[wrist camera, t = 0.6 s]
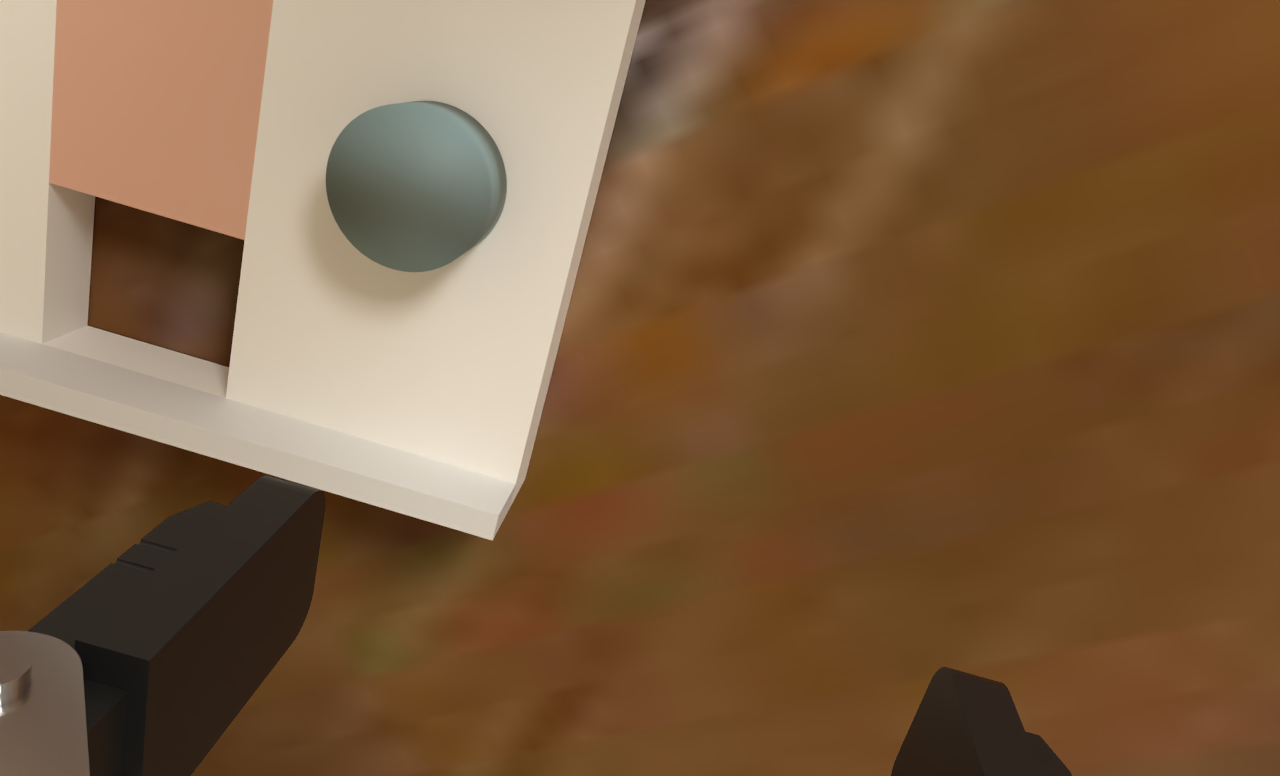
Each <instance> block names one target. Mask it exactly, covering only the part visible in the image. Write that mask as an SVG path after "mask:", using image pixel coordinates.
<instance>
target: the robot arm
mask: <svg viewBox="0 0 1280 776" xmlns="http://www.w3.org/2000/svg"><path fill="white" fill-rule="evenodd" d="M324 512H325V496H324V493H323V492H322V491H320V490H316V489H313V488H309V487H305V486H302V485H298V484H295V483H291V482H288V481H284V480H280V479H277V478H273V477H270V476H262V477H260V478H259V479H257V480H256V481H255V482H254V483H253V484H252V485H250V486H249V487H248V488H247V489H246V490H245V491H244V492H242V493H241V494H240V495H239V496H238V497H237V498H236V499H234V500H233V501H232V502H231V503H230V504H229V505H228V506H225V505H221V504H218V503H214V502H211V501H209V502H206V503H204V504H201V505H198V506H196V507H193V508H190V509H188V510H185V511H182V512H180V513H177V514H174V515H172V516H169V517H168V518H167V519H166V520H164V521H163V522H162V523H161V524H159V525H158V526H157V527H156V528H154V529H153V530H152V531H151V532H149V533H148V534H147V535H146V536H145V537H143V538H142V539H141V542H140V544H139V545H138V544H135V545H133V546H132V547H131V548H130V549H128V550H127V551H126V552H125V553H123V554H122V555H121V556H120V557H119V558H117V562H116V563H115V564H112V563H111V564H110V565H109V566H107V567H106V568H105V569H104V570H102V571H101V572H100V573H99V574H98V575H96V576H95V577H94V578H93V579H91V580H90V581H89V582H88V583H86V584H85V585H84V586H83V587H81V588H80V589H79V590H78V591H77V592H75V593H74V594H73V595H72V596H70V597H69V598H68V599H67V600H65V601H64V602H63V603H62V604H60V605H59V606H58V607H57V608H56V609H54V610H53V611H52V612H51V613H49V614H48V615H47V616H46V617H44V618H43V619H42V620H41V621H39V622H38V623H37V624H36V625H34V626H33V627H32V628H31V629H30V630H28V631H2V632H0V776H190V775H191V774H192V773H193V771H194V770H195V769H196V768H197V766H198V765H199V764H200V762H201V761H202V760H203V758H204V757H205V756H206V755H207V753H208V752H209V751H210V749H211V748H212V747H213V745H214V744H215V743H216V742H217V740H218V739H219V738H220V736H221V735H222V734H223V732H224V731H225V730H226V729H227V727H228V726H229V725H230V723H231V722H232V721H233V719H234V718H235V717H236V716H237V714H238V713H239V712H240V710H241V709H242V708H243V706H244V705H245V704H246V703H247V701H248V700H249V699H250V697H251V696H252V695H253V693H254V692H255V691H256V690H257V688H258V687H259V686H260V684H261V683H262V682H263V680H264V679H265V678H266V677H267V675H268V674H269V673H270V671H271V670H272V669H273V667H274V666H275V665H276V664H277V662H278V661H279V660H280V658H281V657H282V656H283V654H284V653H285V652H286V651H287V649H288V648H289V647H290V645H291V644H292V643H293V641H294V640H295V638H296V637H297V635H298V633H299V631H300V629H301V627H302V625H303V623H304V621H305V618H306V616H307V613H308V610H309V607H310V604H311V600H312V596H313V590H314V583H315V576H316V569H317V562H318V555H319V547H320V540H321V533H322V526H323V519H324ZM891 776H1072V775H1071V773H1070V771H1069V770H1068V768H1067V767H1066V766H1065V765H1064V764H1063V763H1062V761H1061V760H1060V759H1059V758H1058V757H1057V755H1056V754H1055V753H1054V752H1053V751H1052V750H1051V748H1050V747H1049V746H1048V745H1047V744H1046V742H1045V741H1044V740H1043V739H1042V738H1041V737H1040V736H1039V735H1035V734H1032V733H1028V732H1025V730H1024V728H1023V725H1022V723H1021V720H1020V718H1019V715H1018V712H1017V710H1016V707H1015V705H1014V702H1013V700H1012V697H1011V695H1010V692H1009V690H1008V688H1007V687H1006V686H1005V684H1003V683H1001V682H997V681H994V680H990V679H986V678H983V677H979V676H976V675H972V674H969V673H965V672H961V671H958V670H954V669H951V668H947V667H942V668H940V669H939V670H938V671H937V672H936V673H935V675H934V676H933V678H932V680H931V682H930V684H929V686H928V688H927V691H926V693H925V695H924V697H923V700H922V702H921V704H920V706H919V709H918V711H917V713H916V715H915V717H914V720H913V722H912V724H911V726H910V729H909V731H908V733H907V735H906V738H905V740H904V742H903V744H902V746H901V749H900V751H899V753H898V755H897V758H896V760H895V763H894V766H893V770H892V774H891Z"/></svg>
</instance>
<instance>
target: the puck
mask: <svg viewBox="0 0 1280 776" xmlns="http://www.w3.org/2000/svg"><path fill="white" fill-rule="evenodd" d="M326 192H327V198H328V202H329V206H330V209H331V212H332V214H333V217H334V219H335V221H336V223H337V225H338V226H339V228H340V230H341V231H342V233H343V234H344V235H345V237H346V238H347V240H348V241H349V242H350V243H351V244H352V245H353V246H354V247H355V248H356V249H357V250H358V251H360V252H361V253H362V254H363V255H365V256H366V257H368V258H369V259H371V260H372V261H374V262H376V263H378V264H380V265H382V266H385V267H388V268H390V269H394V270H398V271H404V272H424V271H430V270H434V269H437V268H440V267H443V266H445V265H447V264H449V263H451V262H452V261H454V260H455V259H457V258H458V257H460V256H461V255H463V254H464V253H466V252H467V251H468V250H470V249H471V248H473V247H474V246H476V245H477V244H479V243H480V242H481V241H482V240H484V239H485V238H486V237H487V236H488V235H489V234H490V232H491V231H492V230H493V229H494V227H495V225H496V224H497V222H498V221H499V218H500V216H501V214H502V211H503V208H504V204H505V200H506V193H507V178H506V170H505V166H504V162H503V159H502V156H501V154H500V151H499V149H498V147H497V145H496V143H495V141H494V140H493V138H492V137H491V135H490V134H489V133H488V132H487V130H486V129H485V128H484V127H483V126H482V125H481V124H480V123H479V122H478V121H477V120H476V119H475V118H473V117H472V116H470V115H469V114H468V113H466V112H465V111H463V110H461V109H459V108H457V107H454V106H452V105H449V104H446V103H442V102H437V101H414V102H405V103H397V104H389V105H384V106H379V107H376V108H373V109H370V110H368V111H366V112H364V113H362V114H360V115H359V116H357V117H356V118H355V119H353V120H352V121H351V122H350V123H349V124H348V125H347V126H346V127H345V128H344V129H343V130H342V132H341V133H340V134H339V136H338V137H337V139H336V141H335V143H334V145H333V146H332V149H331V152H330V155H329V158H328V162H327V167H326Z"/></svg>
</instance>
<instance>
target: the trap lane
mask: <svg viewBox="0 0 1280 776" xmlns="http://www.w3.org/2000/svg"><path fill="white" fill-rule="evenodd" d="M645 1H646V0H0V395H3V396H6V397H10V398H13V399H16V400H20V401H23V402H26V403H30V404H33V405H37V406H40V407H43V408H47V409H50V410H54V411H57V412H60V413H64V414H67V415H70V416H74V417H77V418H81V419H84V420H87V421H91V422H94V423H97V424H101V425H104V426H108V427H111V428H114V429H118V430H121V431H124V432H128V433H131V434H135V435H138V436H141V437H145V438H148V439H151V440H155V441H158V442H162V443H165V444H168V445H172V446H175V447H178V448H182V449H185V450H189V451H192V452H195V453H199V454H202V455H205V456H209V457H212V458H216V459H219V460H222V461H226V462H229V463H233V464H236V465H239V466H243V467H246V468H249V469H253V470H256V471H260V472H263V473H266V474H270V475H273V476H276V477H280V478H283V479H287V480H290V481H293V482H297V483H300V484H303V485H307V486H310V487H314V488H317V489H320V490H324V491H327V492H330V493H334V494H337V495H341V496H344V497H347V498H351V499H354V500H357V501H361V502H364V503H368V504H371V505H374V506H378V507H381V508H384V509H388V510H391V511H395V512H398V513H401V514H405V515H408V516H411V517H415V518H418V519H422V520H425V521H428V522H432V523H435V524H439V525H442V526H445V527H449V528H452V529H455V530H459V531H462V532H466V533H469V534H472V535H476V536H479V537H482V538H486V539H489V540H493V539H494V537H495V535H496V533H497V531H498V529H499V527H500V526H501V524H502V522H503V520H504V518H505V516H506V514H507V512H508V510H509V508H510V507H511V505H512V503H513V501H514V499H515V497H516V495H517V493H518V491H519V490H520V488H521V486H522V484H523V482H524V480H525V478H526V474H527V470H528V466H529V462H530V458H531V454H532V450H533V446H534V442H535V438H536V434H537V430H538V426H539V422H540V418H541V414H542V410H543V406H544V402H545V398H546V394H547V390H548V386H549V382H550V378H551V374H552V370H553V366H554V362H555V358H556V354H557V351H558V347H559V343H560V339H561V335H562V331H563V327H564V323H565V319H566V315H567V311H568V307H569V303H570V299H571V295H572V291H573V287H574V283H575V279H576V275H577V271H578V267H579V263H580V259H581V255H582V251H583V247H584V243H585V239H586V235H587V231H588V227H589V223H590V220H591V216H592V212H593V208H594V204H595V200H596V196H597V192H598V188H599V184H600V180H601V176H602V172H603V168H604V164H605V160H606V156H607V152H608V148H609V144H610V140H611V136H612V132H613V128H614V124H615V120H616V116H617V112H618V108H619V104H620V100H621V96H622V93H623V89H624V85H625V81H626V77H627V73H628V69H629V65H630V61H631V57H632V53H633V49H634V45H635V41H636V37H637V33H638V29H639V25H640V21H641V17H642V13H643V9H644V5H645ZM414 101H437V102H442V103H446V104H449V105H452V106H454V107H457V108H459V109H461V110H463V111H465V112H466V113H468V114H469V115H470V116H472V117H473V118H475V119H476V120H477V121H478V122H479V123H480V124H481V125H482V126H483V127H484V128H485V129H486V130H487V132H488V133H489V134H490V135H491V137H492V138H493V140H494V141H495V143H496V145H497V147H498V149H499V151H500V154H501V156H502V159H503V162H504V166H505V170H506V178H507V193H506V200H505V204H504V208H503V211H502V214H501V216H500V218H499V221H498V222H497V224H496V225H495V227H494V229H493V230H492V231H491V232H490V234H489V235H488V236H487V237H486V238H485V239H484V240H482V241H481V242H480V243H479V244H477V245H476V246H474V247H473V248H471V249H470V250H468V251H467V252H466V253H464V254H463V255H461V256H460V257H458V258H457V259H455V260H454V261H452V262H451V263H449V264H447V265H445V266H443V267H440V268H437V269H434V270H430V271H424V272H404V271H398V270H394V269H390V268H388V267H385V266H382V265H380V264H378V263H376V262H374V261H372V260H371V259H369V258H368V257H366V256H365V255H363V254H362V253H361V252H360V251H358V250H357V249H356V248H355V247H354V246H353V245H352V244H351V243H350V242H349V241H348V240H347V238H346V237H345V235H344V234H343V233H342V231H341V230H340V228H339V226H338V225H337V223H336V221H335V219H334V217H333V214H332V212H331V209H330V206H329V202H328V198H327V192H326V167H327V162H328V158H329V155H330V152H331V149H332V146H333V145H334V143H335V141H336V139H337V137H338V136H339V134H340V133H341V132H342V130H343V129H344V128H345V127H346V126H347V125H348V124H349V123H350V122H351V121H352V120H353V119H355V118H356V117H357V116H359V115H360V114H362V113H364V112H366V111H368V110H370V109H373V108H376V107H379V106H384V105H389V104H397V103H405V102H414ZM95 196H96V197H99V198H103V199H106V200H109V201H113V202H116V203H120V204H123V205H127V206H130V207H133V208H137V209H140V210H144V211H147V212H150V213H154V214H157V215H161V216H164V217H167V218H171V219H174V220H178V221H181V222H184V223H188V224H191V225H195V226H198V227H201V228H205V229H208V230H212V231H215V232H219V233H222V234H225V235H229V236H232V237H236V238H239V239H242V240H245V241H244V249H243V258H242V266H241V274H240V283H239V291H238V299H237V308H236V316H235V324H234V333H233V341H232V349H231V358H230V366H229V367H226V366H223V365H220V364H216V363H213V362H209V361H206V360H203V359H199V358H196V357H192V356H189V355H186V354H182V353H179V352H175V351H172V350H169V349H165V348H162V347H159V346H155V345H152V344H148V343H145V342H142V341H138V340H135V339H131V338H128V337H125V336H121V335H118V334H114V333H111V332H108V331H104V330H101V329H97V328H94V327H91V326H87V325H88V308H89V292H90V275H91V259H92V243H93V226H94V210H95Z"/></svg>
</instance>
